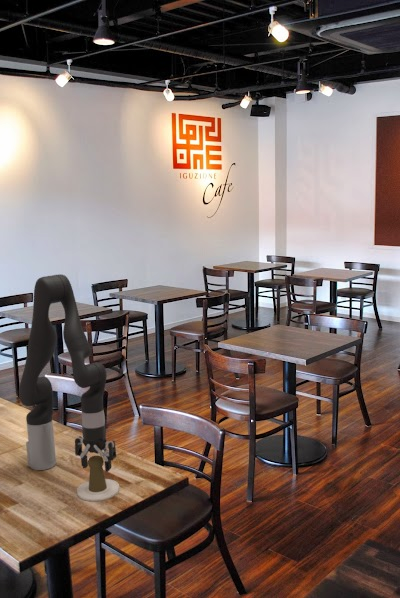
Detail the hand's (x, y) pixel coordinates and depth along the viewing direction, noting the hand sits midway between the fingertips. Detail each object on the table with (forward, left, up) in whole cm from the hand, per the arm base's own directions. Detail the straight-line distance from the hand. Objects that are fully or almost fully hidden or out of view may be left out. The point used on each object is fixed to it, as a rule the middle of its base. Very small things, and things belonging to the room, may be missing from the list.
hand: (96, 469), depth 205 cm
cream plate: (0, 0, -8) cm, 8 cm away
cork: (0, 0, -7) cm, 7 cm away
